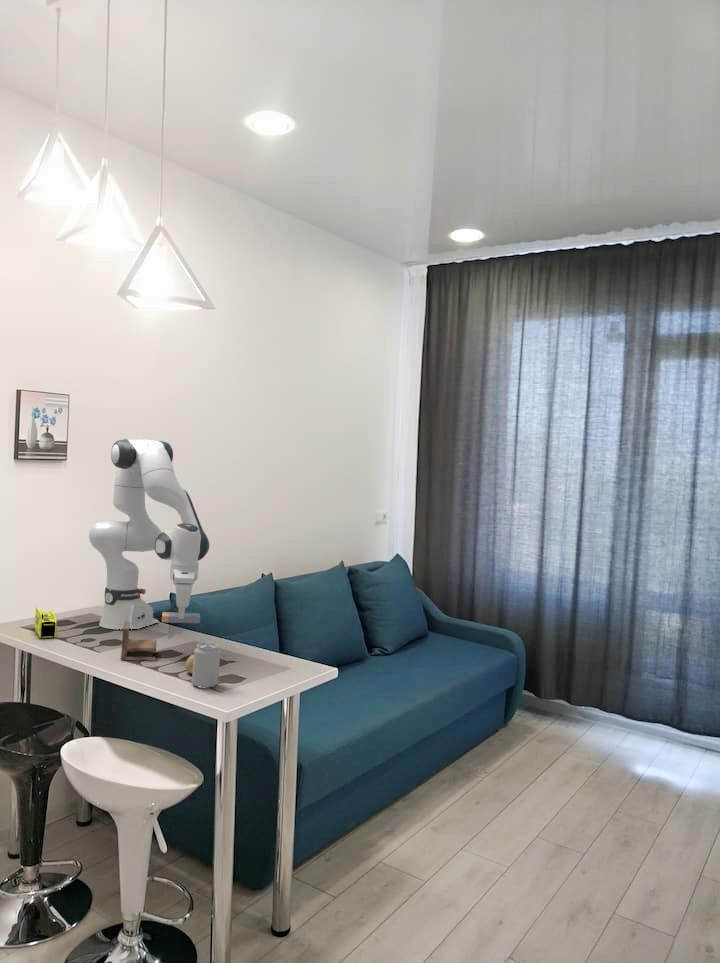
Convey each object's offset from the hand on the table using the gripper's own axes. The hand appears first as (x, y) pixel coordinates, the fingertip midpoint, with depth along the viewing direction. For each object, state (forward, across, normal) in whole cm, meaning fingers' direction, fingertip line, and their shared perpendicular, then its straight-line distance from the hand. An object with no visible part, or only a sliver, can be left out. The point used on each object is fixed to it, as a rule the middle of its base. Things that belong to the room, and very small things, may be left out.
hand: (180, 615), depth 245 cm
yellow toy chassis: (+14, -26, -45) cm, 54 cm away
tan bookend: (+14, 0, -12) cm, 18 cm away
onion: (+14, +19, +6) cm, 24 cm away
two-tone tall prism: (+2, 0, 0) cm, 2 cm away
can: (+14, +30, +7) cm, 34 cm away
